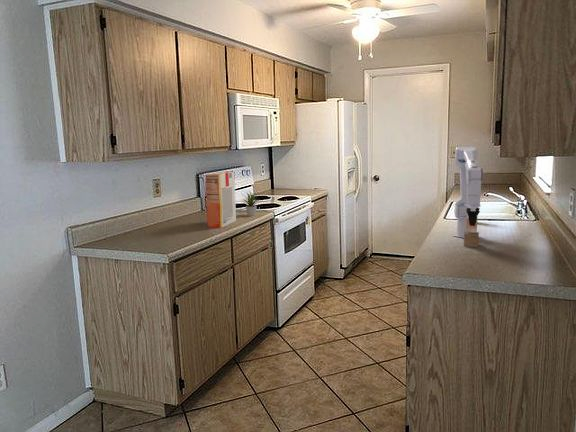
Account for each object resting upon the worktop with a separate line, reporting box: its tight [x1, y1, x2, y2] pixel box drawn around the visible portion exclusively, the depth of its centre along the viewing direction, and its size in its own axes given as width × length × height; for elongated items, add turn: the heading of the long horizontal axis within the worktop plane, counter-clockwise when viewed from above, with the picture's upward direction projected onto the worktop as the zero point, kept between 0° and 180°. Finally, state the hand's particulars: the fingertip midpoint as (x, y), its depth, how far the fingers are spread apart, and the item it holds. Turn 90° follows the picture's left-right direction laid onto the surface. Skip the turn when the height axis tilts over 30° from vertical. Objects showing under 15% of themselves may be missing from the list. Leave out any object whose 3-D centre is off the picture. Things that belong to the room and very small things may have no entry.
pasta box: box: [204, 170, 237, 229], centre depth 282 cm, size 23×8×30 cm, turn 164°
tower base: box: [463, 239, 479, 248], centre depth 220 cm, size 6×6×3 cm
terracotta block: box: [466, 216, 478, 229], centre depth 219 cm, size 4×4×5 cm
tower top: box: [463, 231, 480, 242], centre depth 219 cm, size 6×6×3 cm
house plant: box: [242, 191, 263, 217], centre depth 310 cm, size 14×14×16 cm
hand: (472, 224), depth 219 cm, fingers closed on terracotta block, 4 cm apart
